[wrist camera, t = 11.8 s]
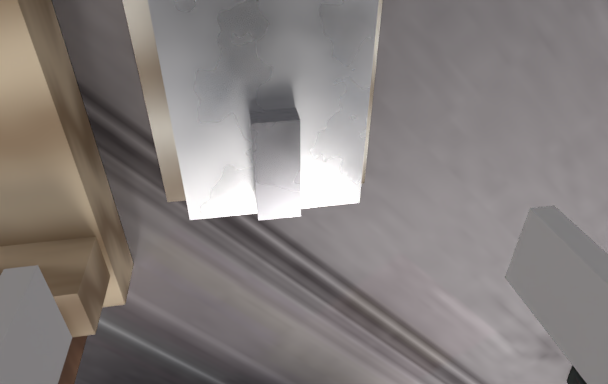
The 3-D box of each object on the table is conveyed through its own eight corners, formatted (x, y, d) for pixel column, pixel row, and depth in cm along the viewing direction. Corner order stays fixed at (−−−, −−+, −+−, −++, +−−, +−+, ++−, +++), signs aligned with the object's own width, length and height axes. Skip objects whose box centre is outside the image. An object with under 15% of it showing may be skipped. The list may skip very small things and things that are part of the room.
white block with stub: (338, 158, 26) (366, 217, 21) (193, 170, 25) (188, 236, 20) (349, -29, 20) (390, -2, 16) (159, -23, 19) (143, 7, 14)
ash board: (360, 174, 28) (364, 183, 27) (168, 192, 26) (167, 202, 26) (383, -81, 20) (390, -79, 19) (109, -79, 18) (105, -77, 18)
